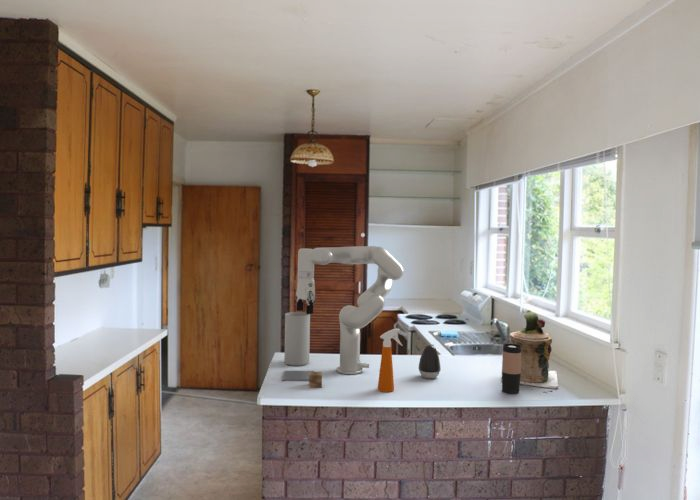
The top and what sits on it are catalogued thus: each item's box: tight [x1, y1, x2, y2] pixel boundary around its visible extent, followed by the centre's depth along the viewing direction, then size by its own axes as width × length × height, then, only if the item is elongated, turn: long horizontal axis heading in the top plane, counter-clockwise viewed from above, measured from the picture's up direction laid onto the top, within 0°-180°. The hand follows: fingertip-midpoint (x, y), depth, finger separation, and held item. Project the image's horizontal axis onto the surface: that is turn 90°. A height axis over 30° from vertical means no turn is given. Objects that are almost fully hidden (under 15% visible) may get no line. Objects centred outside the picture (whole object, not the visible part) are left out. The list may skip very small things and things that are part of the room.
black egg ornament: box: [418, 344, 441, 380], centre depth 241 cm, size 10×10×15 cm
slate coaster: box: [281, 370, 315, 382], centre depth 238 cm, size 14×14×1 cm
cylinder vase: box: [284, 311, 311, 367], centre depth 261 cm, size 12×12×25 cm
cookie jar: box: [501, 309, 560, 390], centre depth 241 cm, size 25×25×32 cm
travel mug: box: [501, 343, 521, 395], centre depth 222 cm, size 8×8×20 cm
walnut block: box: [308, 371, 323, 389], centre depth 225 cm, size 6×6×6 cm
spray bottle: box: [377, 328, 403, 393], centre depth 221 cm, size 7×11×26 cm, turn 107°
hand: (304, 312), depth 238 cm, fingers open, 9 cm apart
